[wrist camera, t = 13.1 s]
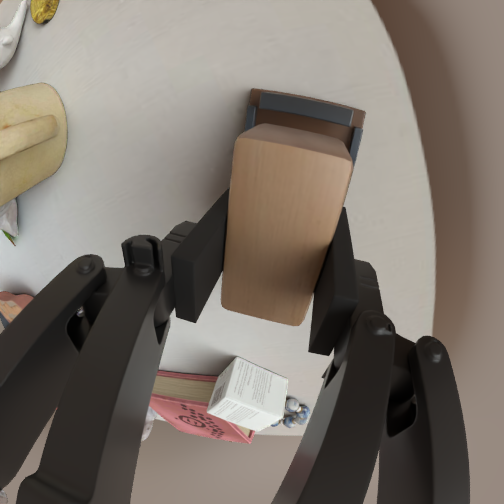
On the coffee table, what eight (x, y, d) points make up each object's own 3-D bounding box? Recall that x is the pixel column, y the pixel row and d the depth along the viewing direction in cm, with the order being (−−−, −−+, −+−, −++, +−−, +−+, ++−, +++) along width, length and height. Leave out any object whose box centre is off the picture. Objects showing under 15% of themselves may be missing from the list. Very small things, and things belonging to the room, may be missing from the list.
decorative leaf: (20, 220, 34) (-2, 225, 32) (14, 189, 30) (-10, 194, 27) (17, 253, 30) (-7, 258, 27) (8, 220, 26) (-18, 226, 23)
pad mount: (321, 264, 21) (320, 288, 19) (235, 243, 22) (224, 265, 19) (363, 110, 14) (372, 113, 12) (254, 88, 15) (243, 87, 13)
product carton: (217, 375, 33) (264, 396, 34) (204, 412, 28) (257, 433, 29) (237, 354, 30) (289, 378, 31) (225, 396, 25) (284, 419, 26)
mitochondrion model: (35, 284, 36) (18, 302, 32) (62, 326, 41) (48, 343, 37) (2, 282, 43) (-11, 295, 39) (22, 314, 48) (11, 327, 44)
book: (190, 412, 46) (182, 432, 42) (147, 369, 39) (134, 392, 35) (258, 420, 41) (252, 445, 37) (225, 377, 34) (214, 408, 30)
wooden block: (307, 278, 15) (345, 139, 11) (300, 331, 12) (358, 159, 8) (239, 262, 16) (258, 120, 11) (217, 310, 13) (232, 133, 8)
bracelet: (322, 413, 35) (321, 424, 33) (274, 421, 40) (272, 431, 39) (283, 387, 32) (281, 400, 31) (234, 398, 38) (231, 409, 36)
